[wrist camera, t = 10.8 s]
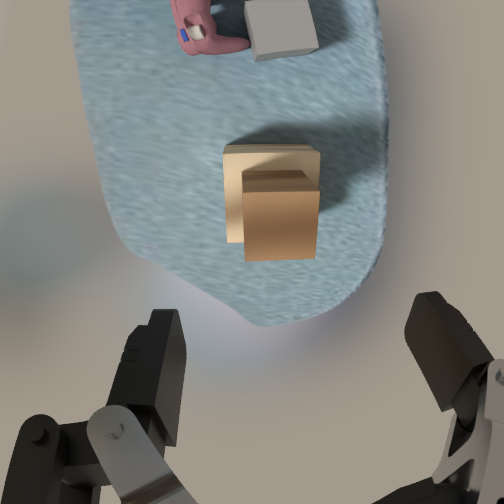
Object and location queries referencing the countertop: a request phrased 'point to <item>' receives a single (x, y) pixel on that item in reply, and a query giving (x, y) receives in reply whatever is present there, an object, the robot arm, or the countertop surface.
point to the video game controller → (202, 30)
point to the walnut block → (279, 215)
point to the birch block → (261, 160)
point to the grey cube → (279, 28)
